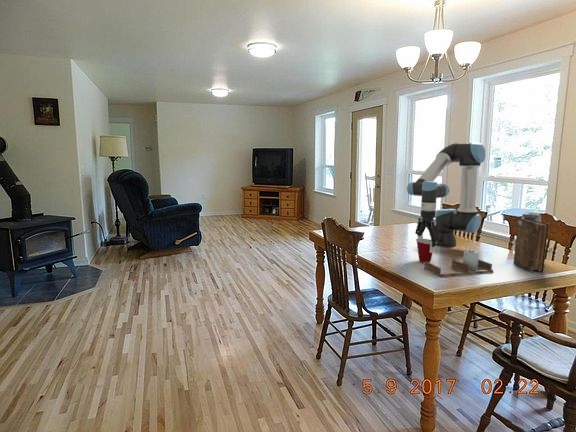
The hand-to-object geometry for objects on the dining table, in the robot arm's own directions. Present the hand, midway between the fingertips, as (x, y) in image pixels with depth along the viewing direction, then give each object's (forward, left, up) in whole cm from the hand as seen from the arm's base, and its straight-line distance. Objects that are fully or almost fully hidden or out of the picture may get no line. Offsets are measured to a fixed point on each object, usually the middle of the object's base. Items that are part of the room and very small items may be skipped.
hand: (425, 249), depth 204 cm
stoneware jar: (-15, +17, -7) cm, 24 cm away
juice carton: (-59, +9, -7) cm, 60 cm away
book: (-45, +23, -7) cm, 51 cm away
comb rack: (-7, +18, -6) cm, 20 cm away
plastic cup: (0, 0, -7) cm, 7 cm away
